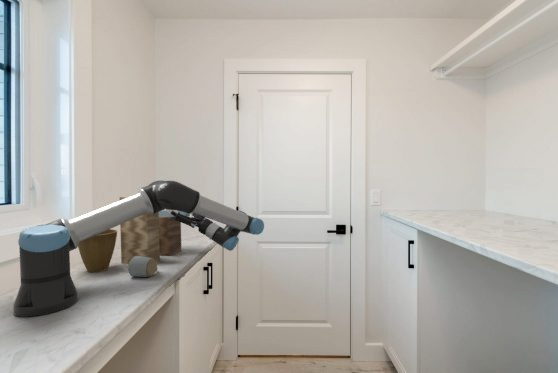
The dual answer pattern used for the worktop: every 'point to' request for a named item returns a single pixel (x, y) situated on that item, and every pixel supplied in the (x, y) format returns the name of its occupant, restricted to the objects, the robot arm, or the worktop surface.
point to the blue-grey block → (166, 214)
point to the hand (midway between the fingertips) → (175, 207)
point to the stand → (140, 237)
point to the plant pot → (98, 250)
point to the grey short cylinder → (142, 266)
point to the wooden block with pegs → (169, 236)
